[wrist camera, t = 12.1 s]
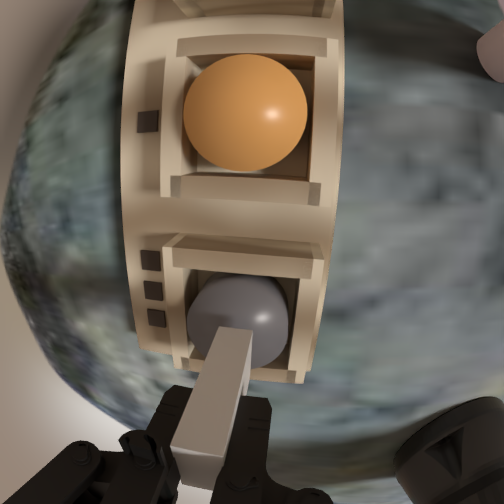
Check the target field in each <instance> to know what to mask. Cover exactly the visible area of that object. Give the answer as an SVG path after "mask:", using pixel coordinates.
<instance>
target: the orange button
mask: <svg viewBox="0 0 504 504" xmlns="http://www.w3.org/2000/svg"><path fill="white" fill-rule="evenodd" d="M183 119H184V126H185V129H186V133H187V135H188V137H189V140H190V142H191V143H192V145H193V146H194V148H195V149H196V150H197V151H198V152H199V153H200V154H201V155H202V156H203V157H204V158H205V159H207V160H208V161H209V162H211V163H213V164H215V165H216V166H219V167H221V168H224V169H228V170H232V171H240V172H243V171H255V170H260V169H263V168H266V167H269V166H271V165H273V164H275V163H277V162H279V161H280V160H282V159H283V158H284V157H286V156H287V155H288V154H289V153H290V152H291V151H292V150H293V149H294V147H295V146H296V145H297V143H298V142H299V140H300V138H301V136H302V134H303V132H304V129H305V125H306V121H307V102H306V97H305V94H304V91H303V89H302V87H301V85H300V83H299V82H298V80H297V79H296V77H295V76H294V75H293V74H292V73H291V72H290V71H289V70H288V69H287V68H286V67H285V66H283V65H282V64H280V63H278V62H277V61H274V60H272V59H270V58H267V57H264V56H260V55H253V54H241V55H234V56H229V57H226V58H223V59H221V60H219V61H217V62H215V63H213V64H212V65H210V66H208V67H207V68H206V69H205V70H204V71H202V72H201V73H200V74H199V76H198V77H197V78H196V79H195V81H194V82H193V83H192V85H191V87H190V89H189V91H188V93H187V96H186V99H185V103H184V110H183Z"/></svg>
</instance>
